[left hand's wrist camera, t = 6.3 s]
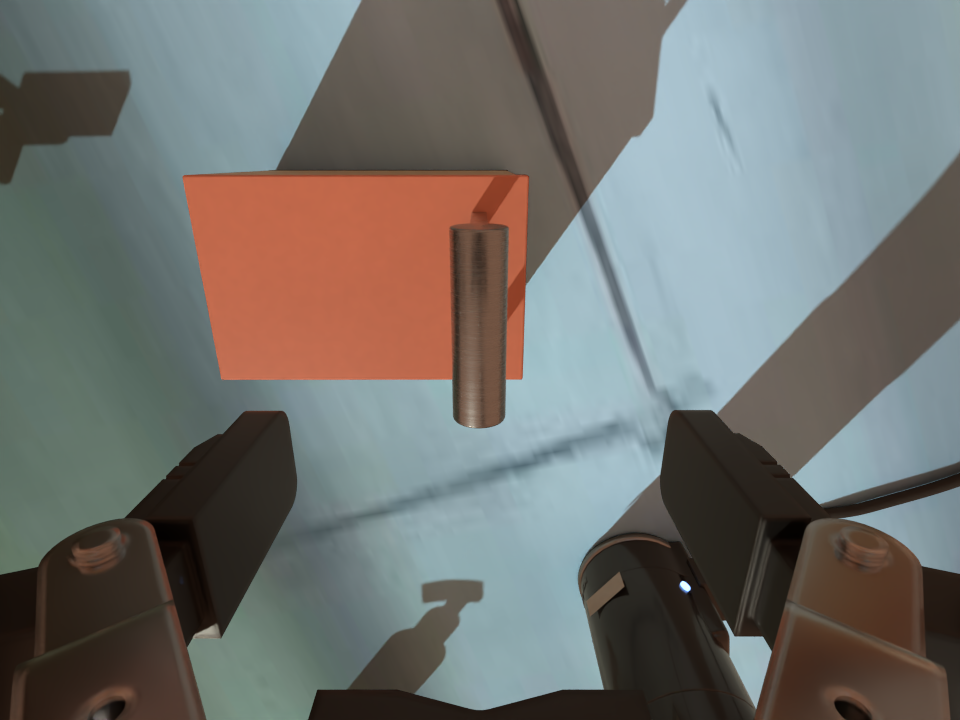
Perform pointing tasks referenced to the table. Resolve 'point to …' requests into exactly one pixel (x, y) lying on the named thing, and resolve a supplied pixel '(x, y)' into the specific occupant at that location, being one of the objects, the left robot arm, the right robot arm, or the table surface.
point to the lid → (367, 279)
